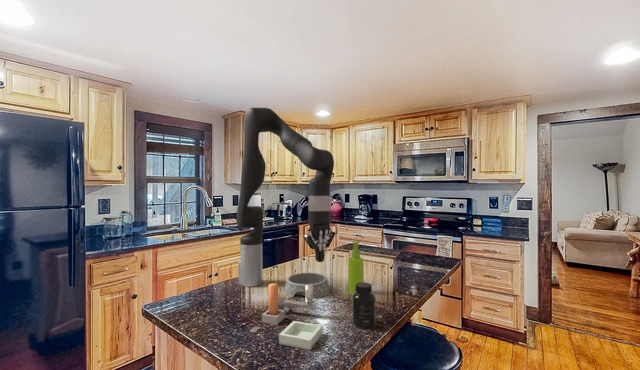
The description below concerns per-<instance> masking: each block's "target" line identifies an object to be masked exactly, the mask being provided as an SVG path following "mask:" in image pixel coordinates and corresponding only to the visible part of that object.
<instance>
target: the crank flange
mask: <svg viewBox="0 0 640 370" xmlns="http://www.w3.org/2000/svg"><path fill="white" fill-rule="evenodd" d="M267 310H269V307H267ZM278 310H284V311H285V315H286V314H288V313H289V312H290V306H285V307H284V308H283V309H278ZM260 329H261V327H260V326H256V325H255V326H254V327H252V328H251V329H250V330H249V332H251V333H256V332H257V331H259V330H260Z"/></svg>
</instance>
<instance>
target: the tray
mask: <svg viewBox="0 0 640 370" xmlns="http://www.w3.org/2000/svg"><path fill="white" fill-rule="evenodd" d="M323 329H324V328H323V325H322V324H314V323H308V322H303V321H297V320H293V321H292V322H291V323H290V324H289V325H288V326H286V328H284V329H283V330H282V331H281V332H280V333H279V334H278V344H279V345H282V346H288V347H293V348H296V349H301V350H305V351H306V350H307V351H311V350H312V349H313V348H314V346H315V345H316V343H318V341H319V340H320V338H321V337H322V336H323V335H324V334H323V331H324V330H323Z"/></svg>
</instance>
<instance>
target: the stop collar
mask: <svg viewBox="0 0 640 370" xmlns="http://www.w3.org/2000/svg"><path fill="white" fill-rule="evenodd" d="M285 318H286V314H285V311H284V310H278V315H277V316H273V315H269V310H268V309H267V310H266V311H265V312H264V313H262V314H261V323H265V324H271V325H279V324H280V323H281V322H282V321H283V320H284V319H285Z"/></svg>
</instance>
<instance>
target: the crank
mask: <svg viewBox="0 0 640 370" xmlns="http://www.w3.org/2000/svg"><path fill="white" fill-rule="evenodd" d="M304 296H305V297H304V299H305V301H303V302H302V301H299V300H298V301H297V300H290V299H289V300H288V299H285V298H284V297H279V296H278V309H283V308H284V307H285V306H289V307H292V308H293V307H294V308H300V309H307V310H315V309H317V303H314V302H313V299H314V298H313V285H305V295H304Z"/></svg>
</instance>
